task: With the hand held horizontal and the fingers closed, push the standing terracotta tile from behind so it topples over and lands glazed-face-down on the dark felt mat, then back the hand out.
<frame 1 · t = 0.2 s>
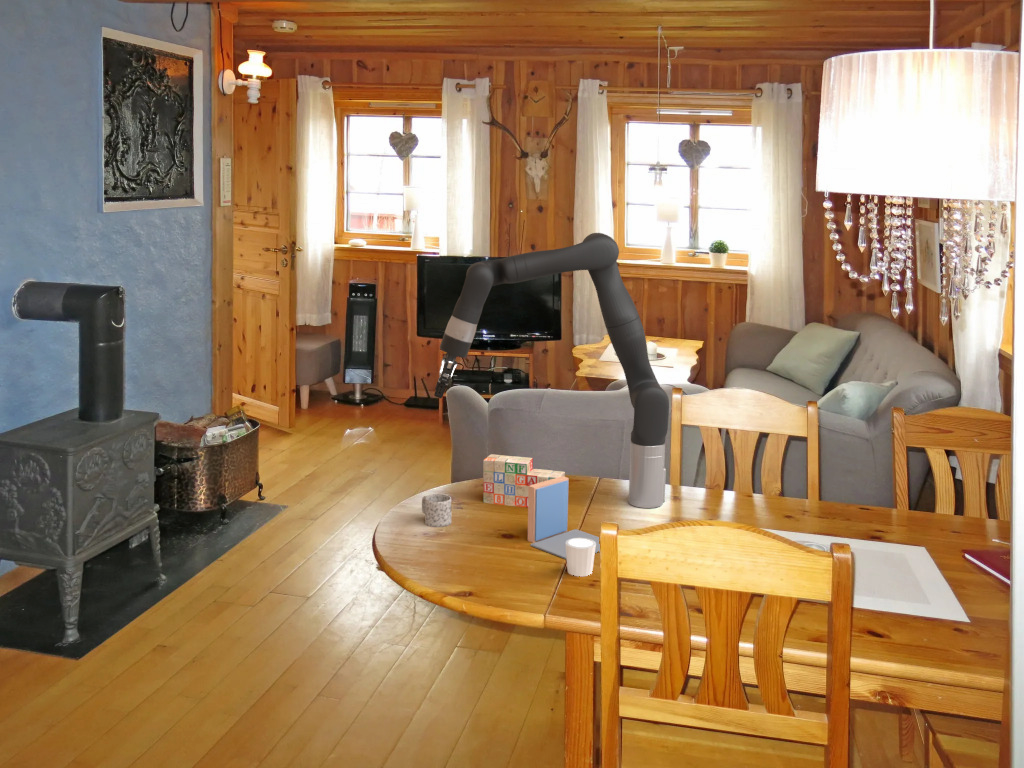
hand: (438, 393, 271), 31 cm above the table, fingers open, 8 cm apart
mug: (434, 521, 265), on the table
mat: (574, 545, 249), on the table
stack of blocks: (523, 504, 280), on the table
white cup: (580, 572, 233), on the table
tile: (547, 536, 256), on the table
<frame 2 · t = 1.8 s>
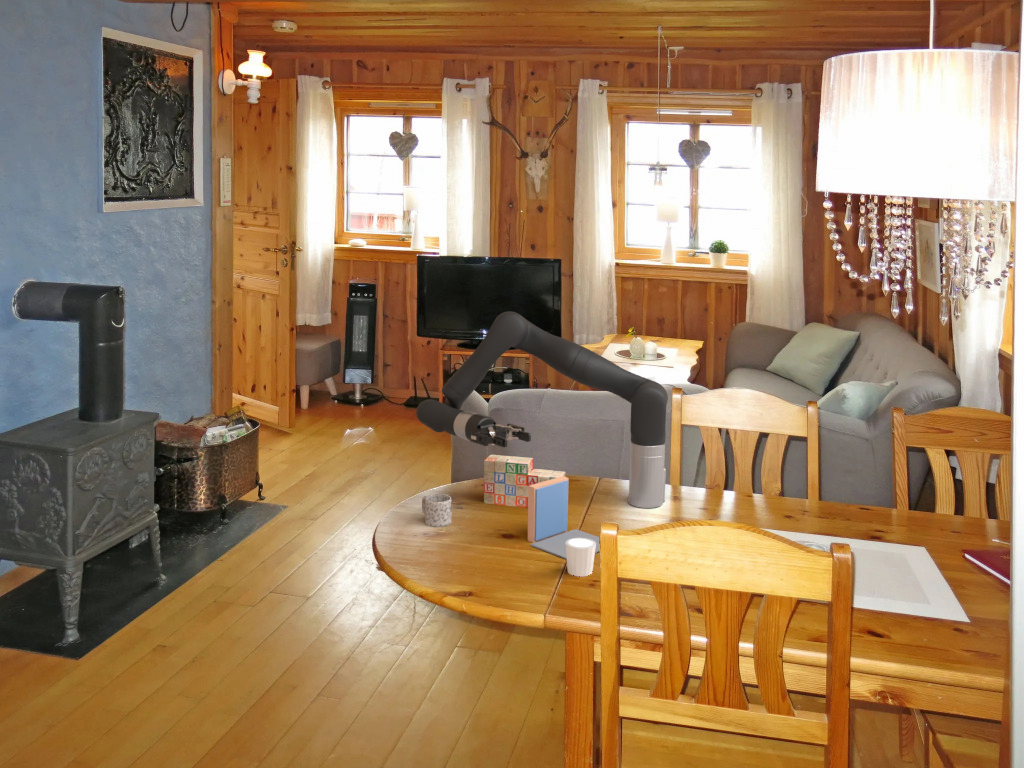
hand: (518, 440, 259), 22 cm above the table, fingers open, 7 cm apart
nothing on the table moved.
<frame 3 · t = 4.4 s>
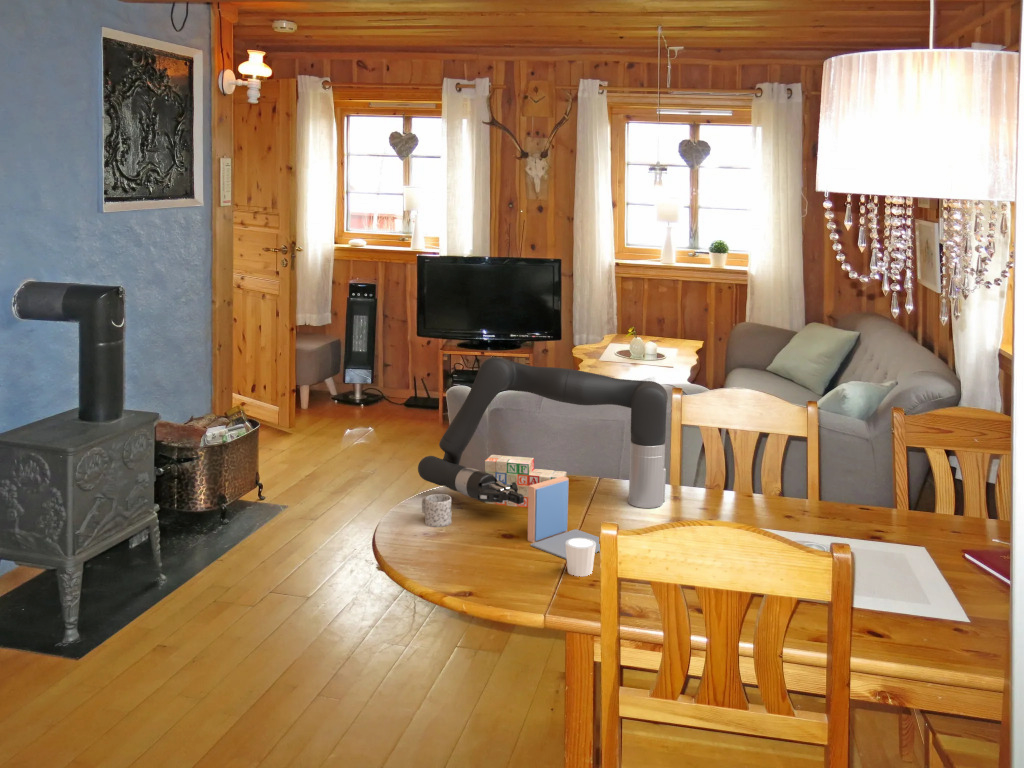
hand: (521, 499, 261), 7 cm above the table, fingers closed
nothing on the table moved.
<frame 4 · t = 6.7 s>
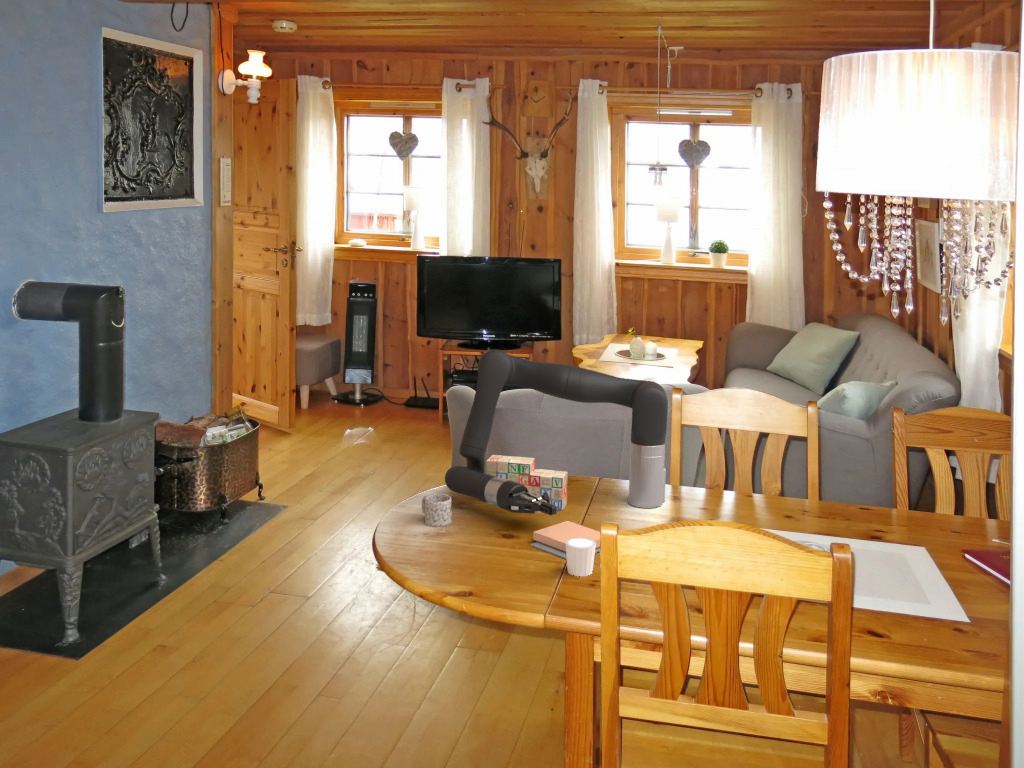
hand: (554, 510, 253), 7 cm above the table, fingers closed
tile: (550, 530, 255), point 2 cm above the table, tilted 90°, touching mat
everything else where it was.
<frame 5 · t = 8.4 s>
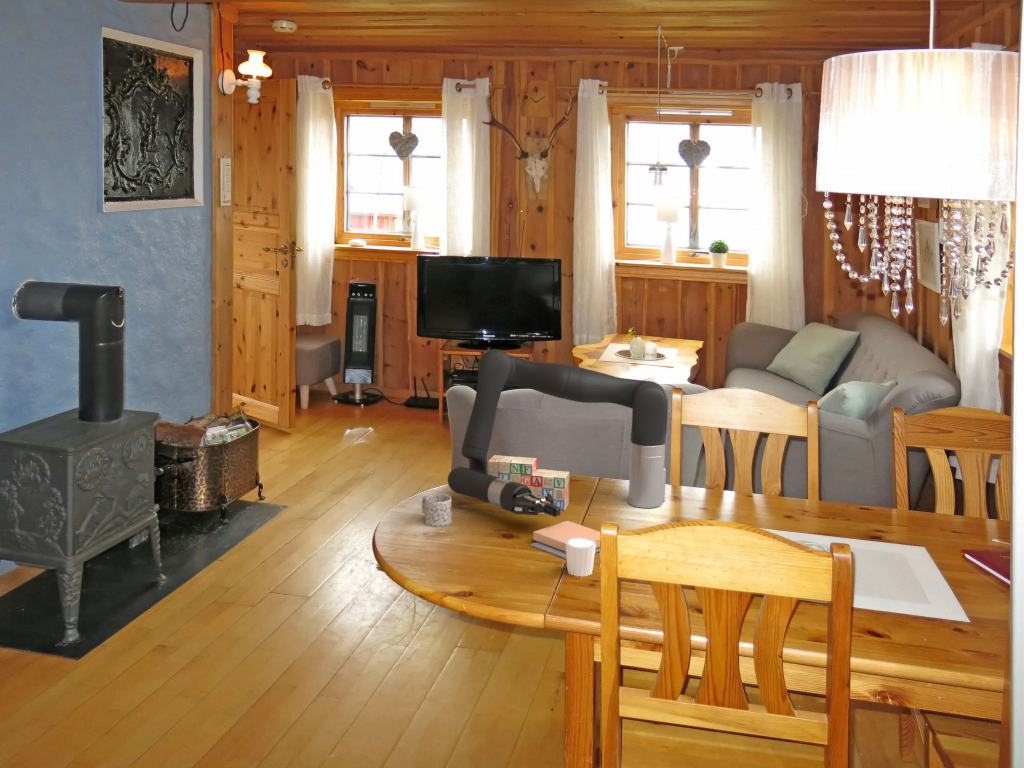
hand: (558, 512, 252), 7 cm above the table, fingers closed
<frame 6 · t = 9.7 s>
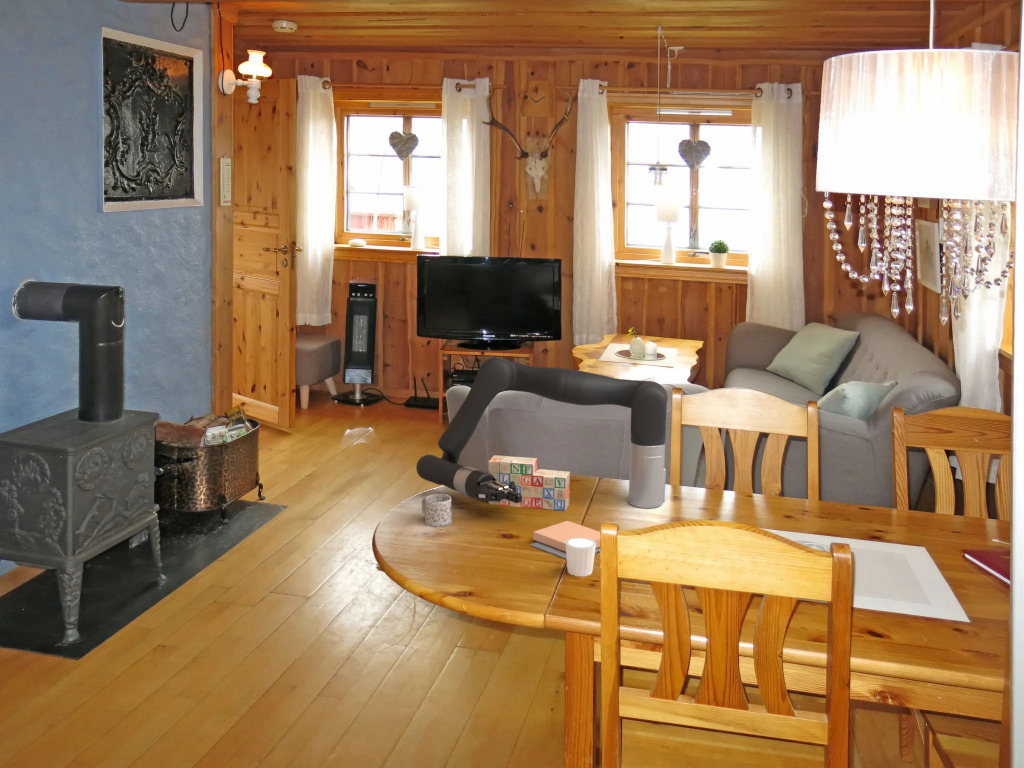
hand: (520, 498, 261), 7 cm above the table, fingers closed
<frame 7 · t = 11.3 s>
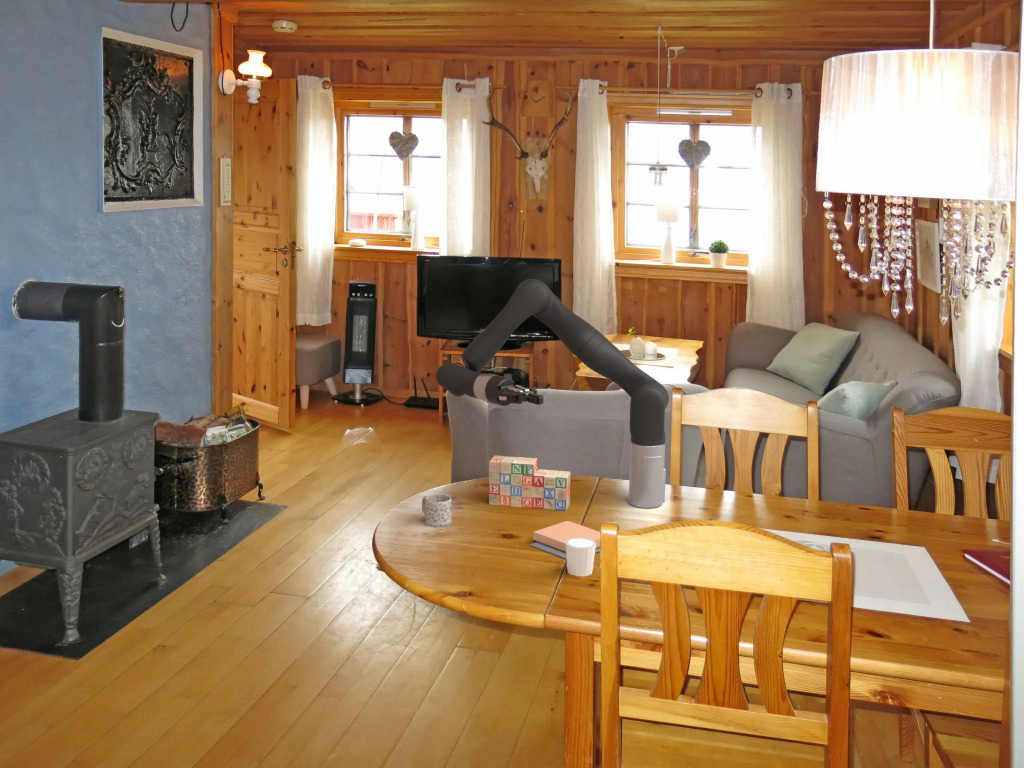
hand: (541, 400, 259), 32 cm above the table, fingers closed
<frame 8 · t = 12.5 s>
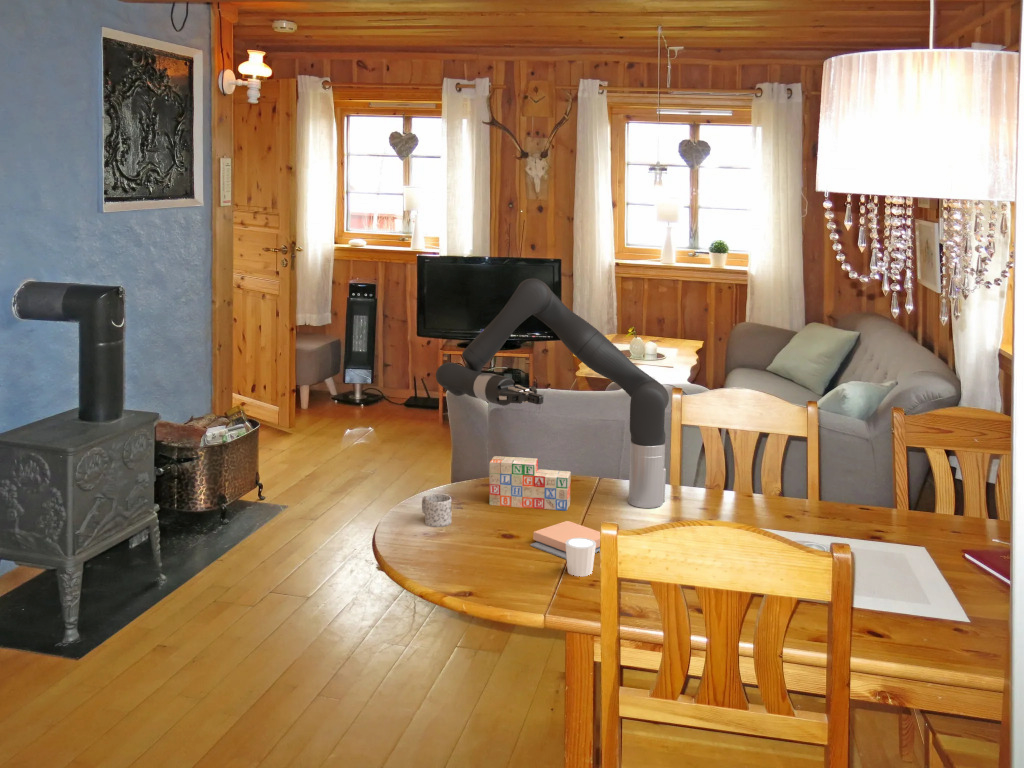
hand: (541, 400, 259), 32 cm above the table, fingers closed
at the end: tile tilted 90°; tile inside the target area (1.5 cm from its centre), point 1.8 cm above the table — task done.
